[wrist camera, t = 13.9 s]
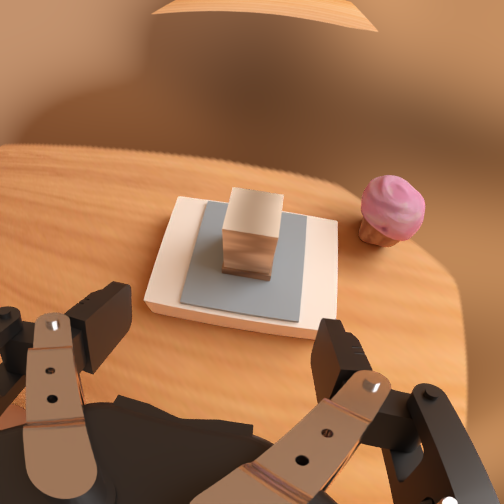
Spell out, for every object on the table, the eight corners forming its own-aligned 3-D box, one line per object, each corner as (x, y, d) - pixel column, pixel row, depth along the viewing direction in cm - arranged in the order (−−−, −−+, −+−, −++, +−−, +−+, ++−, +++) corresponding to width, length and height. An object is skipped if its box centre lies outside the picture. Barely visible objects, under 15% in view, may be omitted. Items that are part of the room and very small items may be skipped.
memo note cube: (222, 273, 31) (219, 230, 24) (231, 233, 34) (231, 185, 27) (269, 281, 31) (280, 240, 24) (275, 240, 33) (286, 193, 26)
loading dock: (152, 312, 33) (142, 298, 29) (182, 215, 40) (177, 193, 36) (324, 340, 33) (336, 330, 29) (329, 238, 39) (338, 218, 36)
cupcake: (355, 201, 43) (378, 153, 34) (404, 225, 42) (435, 183, 33) (339, 245, 39) (365, 198, 30) (395, 272, 37) (432, 232, 29)
